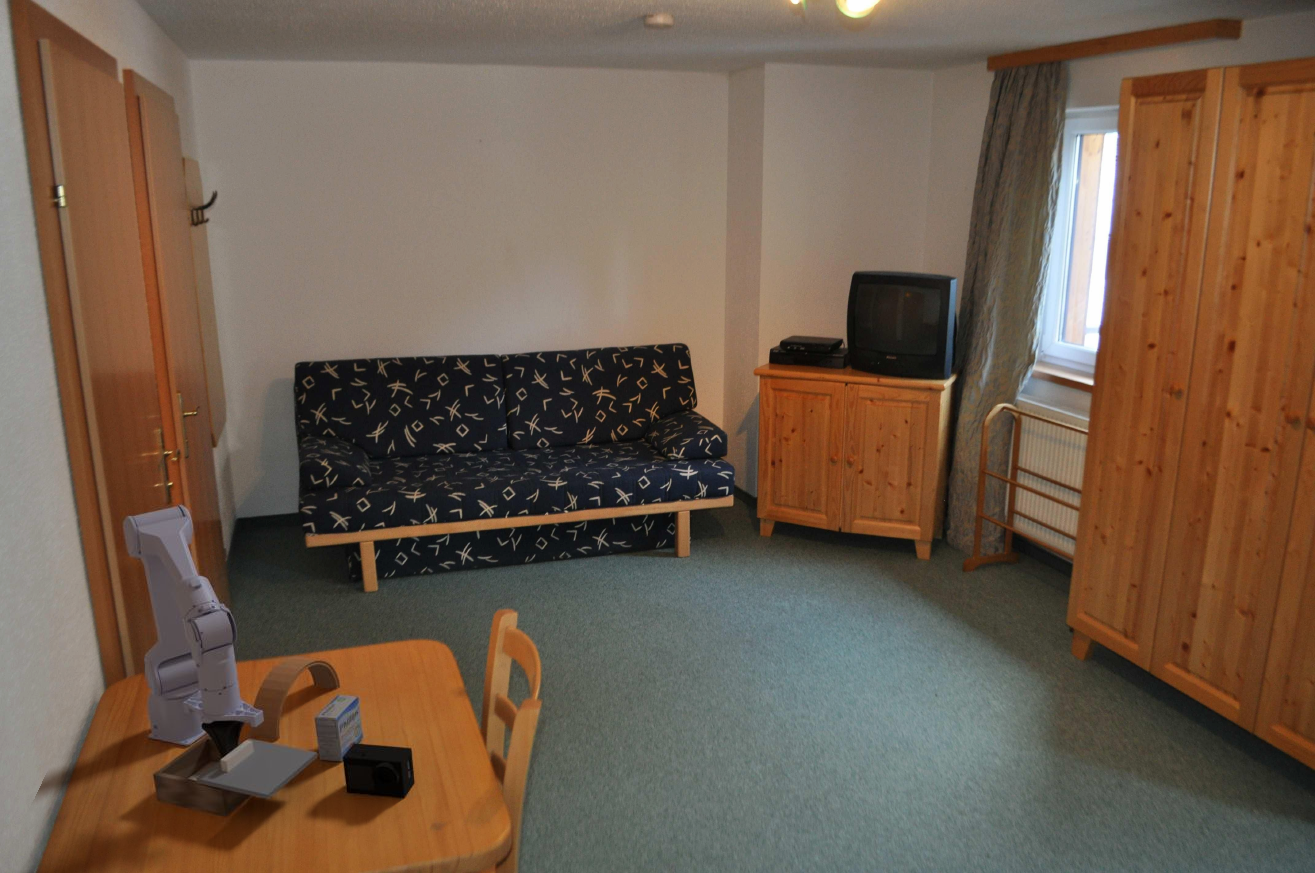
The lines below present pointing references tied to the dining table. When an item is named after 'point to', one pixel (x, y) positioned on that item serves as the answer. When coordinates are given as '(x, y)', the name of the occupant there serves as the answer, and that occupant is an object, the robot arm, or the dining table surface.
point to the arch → (287, 690)
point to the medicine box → (338, 727)
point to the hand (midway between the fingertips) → (229, 755)
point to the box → (195, 782)
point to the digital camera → (379, 770)
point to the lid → (257, 768)
